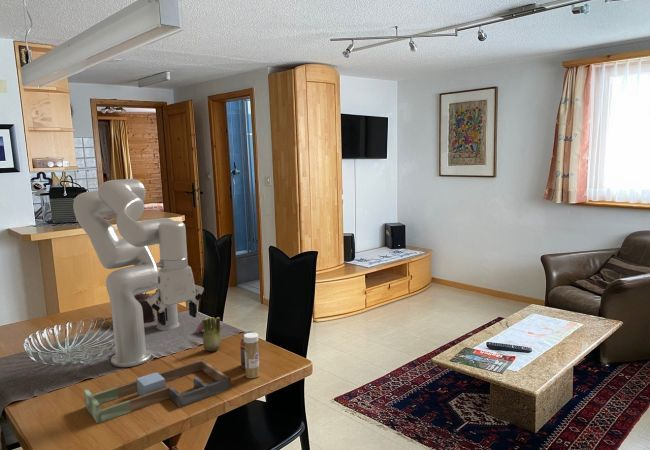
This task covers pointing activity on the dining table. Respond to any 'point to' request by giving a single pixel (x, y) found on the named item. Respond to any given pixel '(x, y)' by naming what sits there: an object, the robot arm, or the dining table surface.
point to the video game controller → (203, 326)
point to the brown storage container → (145, 307)
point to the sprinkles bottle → (251, 355)
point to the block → (150, 383)
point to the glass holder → (168, 317)
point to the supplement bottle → (244, 349)
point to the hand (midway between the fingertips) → (177, 320)
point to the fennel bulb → (212, 334)
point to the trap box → (157, 392)
